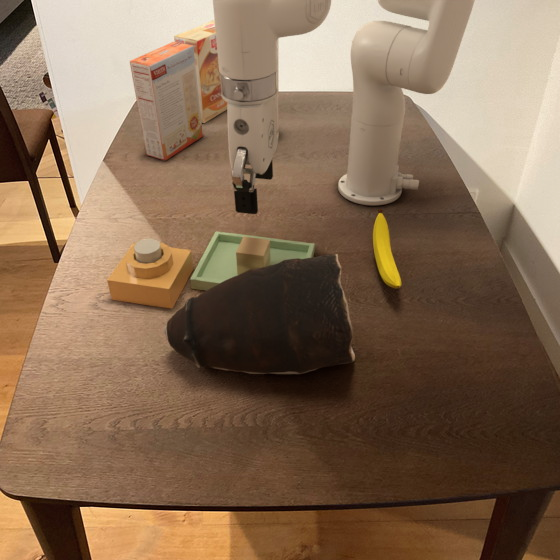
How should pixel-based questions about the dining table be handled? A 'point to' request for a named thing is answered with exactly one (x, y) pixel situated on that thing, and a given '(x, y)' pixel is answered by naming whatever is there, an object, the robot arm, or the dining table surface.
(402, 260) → the dining table surface
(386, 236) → the banana
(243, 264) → the block
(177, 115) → the cracker box
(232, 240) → the tray
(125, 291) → the button base
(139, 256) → the grey button cap
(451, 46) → the robot arm
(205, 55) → the coffeecake box
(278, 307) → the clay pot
